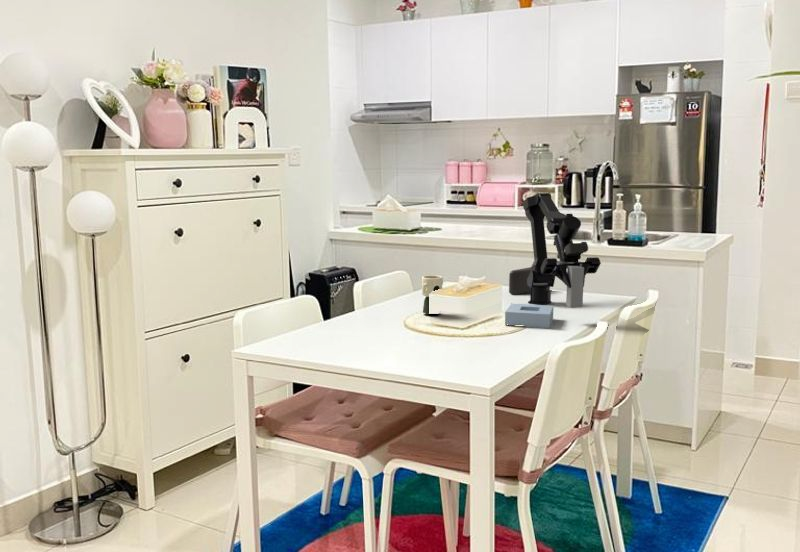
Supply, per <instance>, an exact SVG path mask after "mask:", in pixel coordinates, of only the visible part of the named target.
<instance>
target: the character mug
mask: <svg viewBox="0 0 800 552" xmlns="http://www.w3.org/2000/svg"><path fill="white" fill-rule="evenodd" d="M443 277H444V276H441V275H435V274H434V275H422V277H421V295H422V296H424V297H425V298H424V301H423V306H422V313H423V314H426V315H429V294H430V293H431V292H432V291H435V290H438V289H442V290H443V284H444V278H443Z"/></svg>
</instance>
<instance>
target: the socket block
mask: <svg viewBox="0 0 800 552" xmlns="http://www.w3.org/2000/svg"><path fill="white" fill-rule="evenodd" d="M554 307H555V306H554V305H548V304H545V305H540V304H532V303H529V304H527V303H514V302H513V303H510V304H509V306H508V307H507V309H506V310H505V312H504V313H505V315H504V326H505V325H507V324H508V325H524V326H525V327H524V328H534V329H535V328H536V329H537V328H539V329H550V328H551V325H552V323H553V320H554Z"/></svg>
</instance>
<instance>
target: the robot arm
mask: <svg viewBox="0 0 800 552" xmlns="http://www.w3.org/2000/svg"><path fill="white" fill-rule="evenodd" d="M522 205H523V206H522V208H523V210H524V213H525V217H526V218H527V219H528V220H529V222H530V228H531V229H530V230H531V239H532V247H533V248H532V249H533V260H534V261H533V263H532V264H531V266H530V267H531V272H530V274H529V276H528V278H527V285H528V286H529V287H531V291H530V293H529V294H530V297H529V298H530V299H529V300H528V301H527V303H529V304H532V305H548V304H551V303H552V300H551V298H552V295H551V294H552V290H551V288H554V285H555V280H556V278H558V279H559V280H560V281H561V282H562V283H564V285H565V286H566V288H567V287H568V288H570V287H571V283H570V280H569V277H568V274H567V268H568V266H581V267H584V282H583V288H584V286H585V282H586V281H585V279H586V275H587V274H596V273H597V272H598V270H599V268H600V266H601V264H602V262H601V259H600V258H599V257H598V256H593V257H591V256H589V257H586V259H585V261H579V260H581V258H582V257H581V255H582V254H584V253H587V252H588V251H589V245H588V242H587V241H581V242H574V241H573V240H574V239H575V238H576V237H577V235H578V232H579V230H580V227H581V226H582V222H581V220H580V219H579V218H578V217H576V216H575V215H573V213H566V214H565V213H562V212H561V211H560V210H559V208H558V207H557V205H556V204H555V202H554V200H553V199H552V194H551V193H549V192H538V193H536V194H534V195H531V196H529V197H528V196H527V197H526V198H525V199H524V200H523V203H522ZM544 219H546V220H547V221H546V229H545V221H544ZM546 230H547V231H548V233H549V235H555V236H554V237H553V246H555V249H556V251H557V255H556V257H557V258H556V257H550V258H548V252H547V251H548V250H547V249H548V248H547V240H546ZM557 259H559V260H557Z"/></svg>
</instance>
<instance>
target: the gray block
mask: <svg viewBox="0 0 800 552" xmlns="http://www.w3.org/2000/svg"><path fill="white" fill-rule="evenodd" d="M567 274H568V277H569V280H570V283H571V287H570V288H568V287H567V286H566V295H565V296H566V297H565V298H566V299H565V302H566V303H565V306H567V307H568V308H570V309H577V308H578V309H579V308H581V309H582V308H583V307H584V306H583V302H584V300H583V299H584V287H583V282H584V283H585V281H584V267H581V266H568V268H567Z"/></svg>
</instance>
